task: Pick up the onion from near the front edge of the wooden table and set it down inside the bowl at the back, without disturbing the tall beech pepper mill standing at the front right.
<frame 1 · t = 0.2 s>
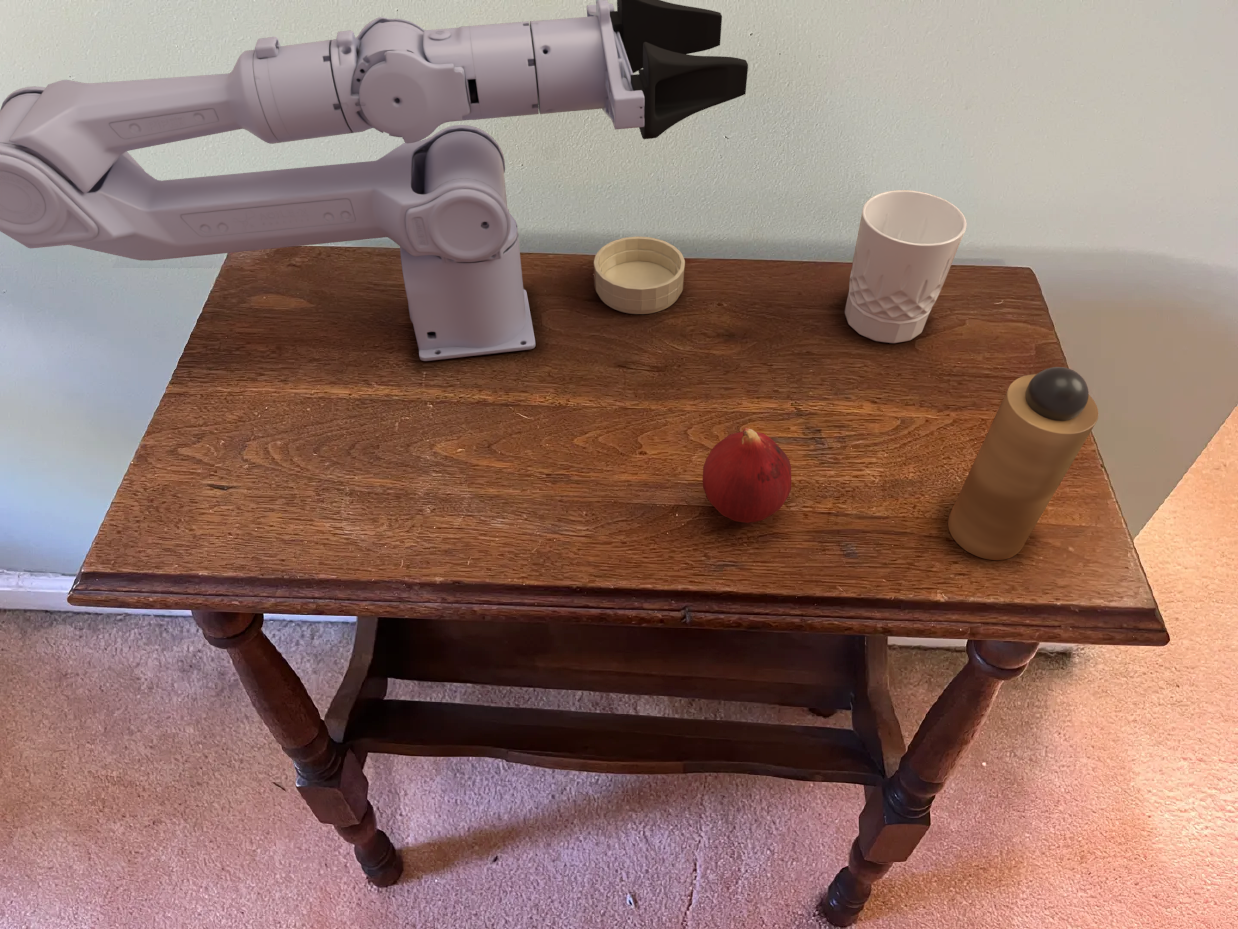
hand: (732, 51, 58), 22 cm above the table, tool horizontal, fingers open, 7 cm apart
onion: (740, 514, 59), on the table
bowl: (638, 288, 76), on the table
white cup: (883, 320, 73), on the table
pepper mill: (985, 530, 58), on the table
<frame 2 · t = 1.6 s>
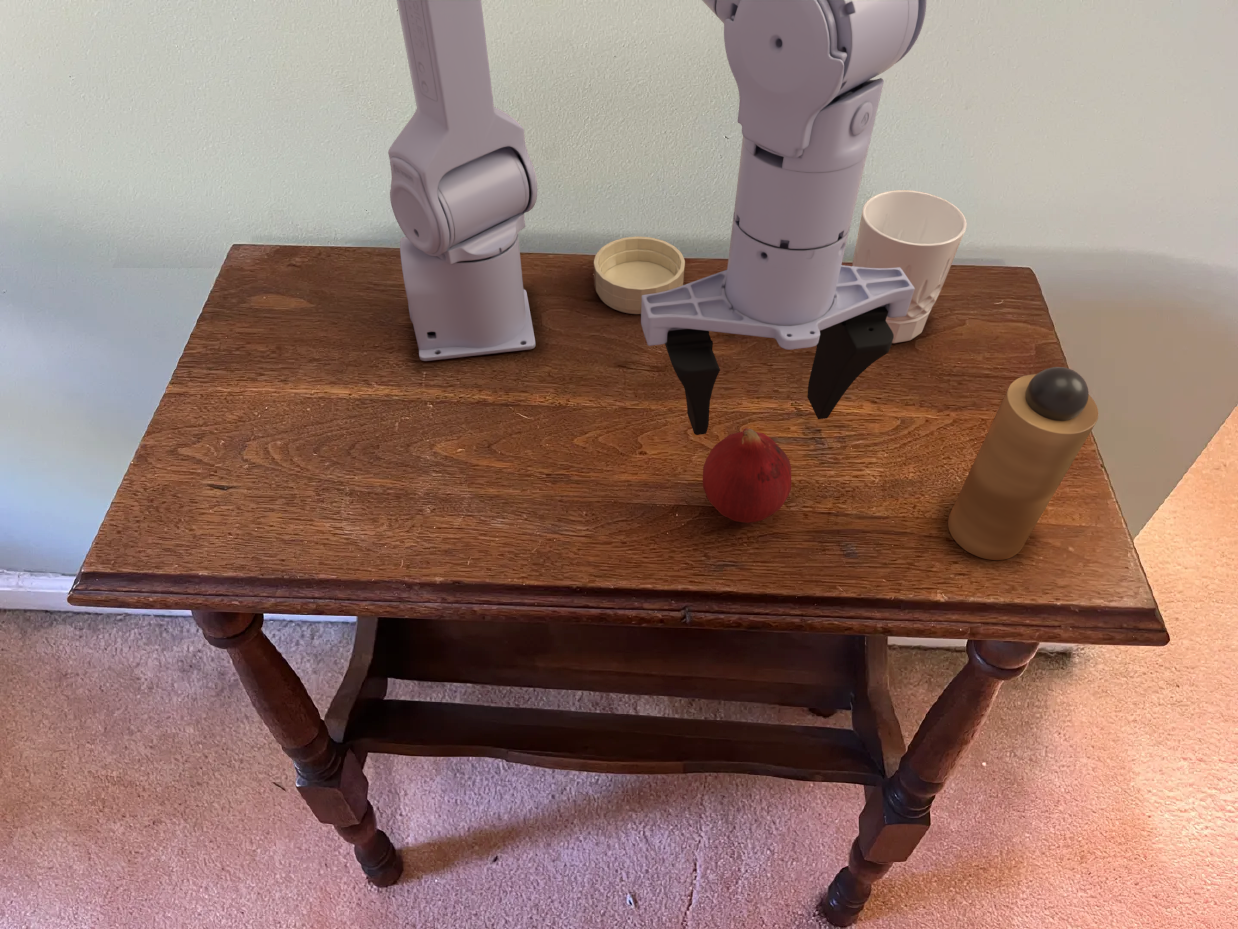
hand: (757, 415, 52), 9 cm above the table, tool pointing down, fingers open, 7 cm apart
nothing on the table moved.
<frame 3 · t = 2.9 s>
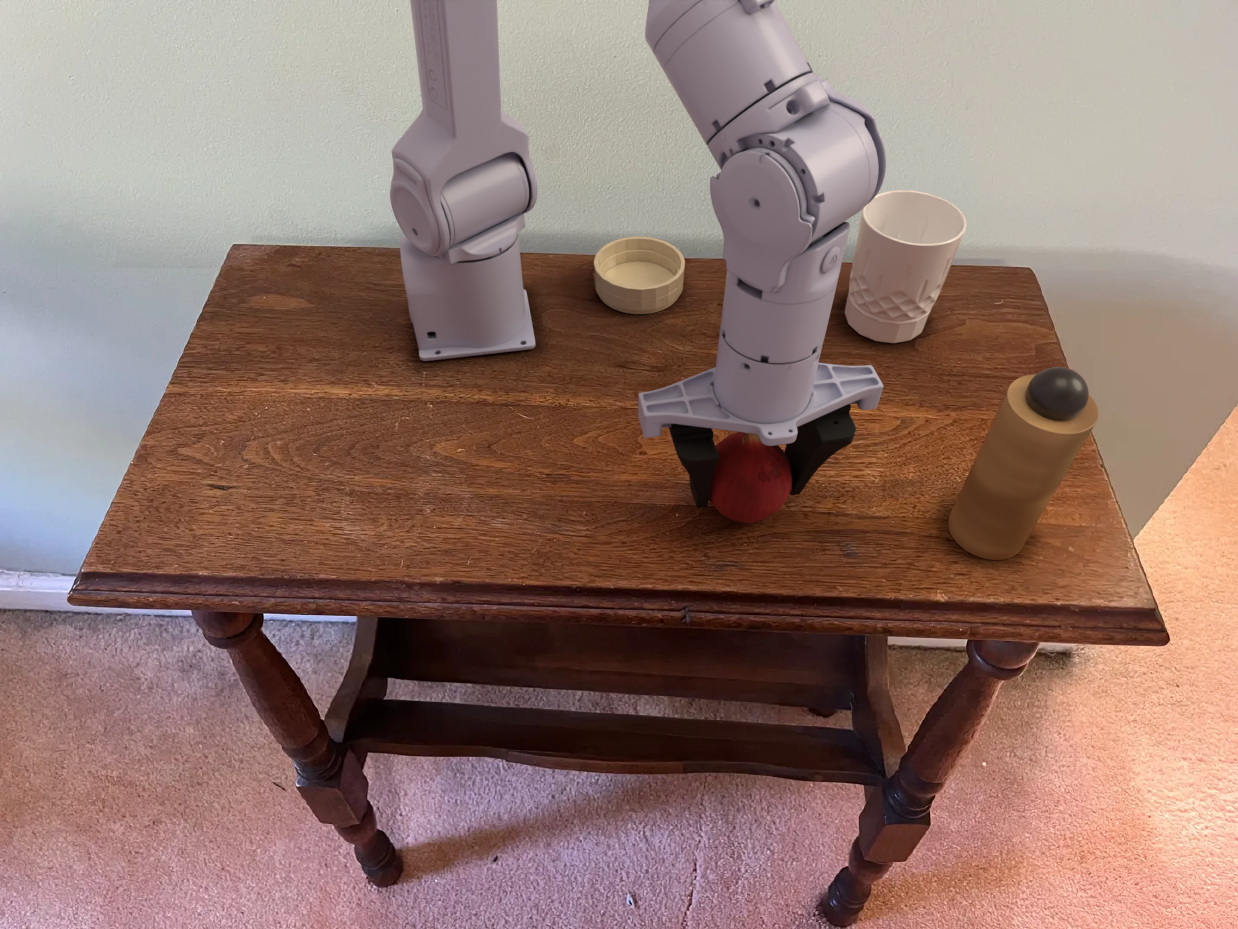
hand: (744, 490, 57), 2 cm above the table, tool pointing down, fingers closed on onion, 6 cm apart
onion: (740, 514, 59), on the table, touching gripper
everything else where it was.
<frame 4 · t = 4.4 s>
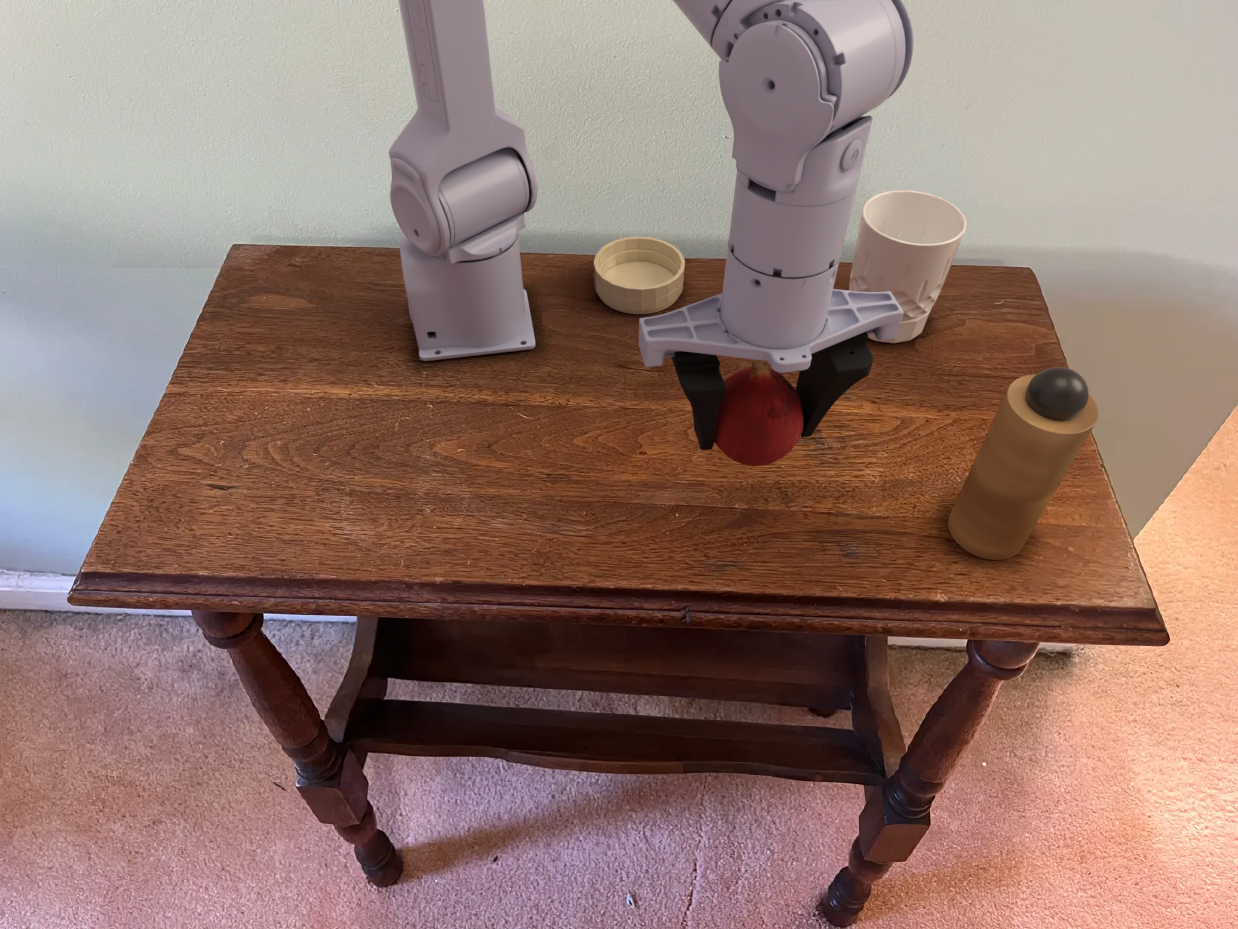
hand: (751, 432, 53), 8 cm above the table, tool pointing down, fingers closed on onion, 6 cm apart
onion: (747, 460, 55), point 5 cm above the table, touching gripper
everything else where it was.
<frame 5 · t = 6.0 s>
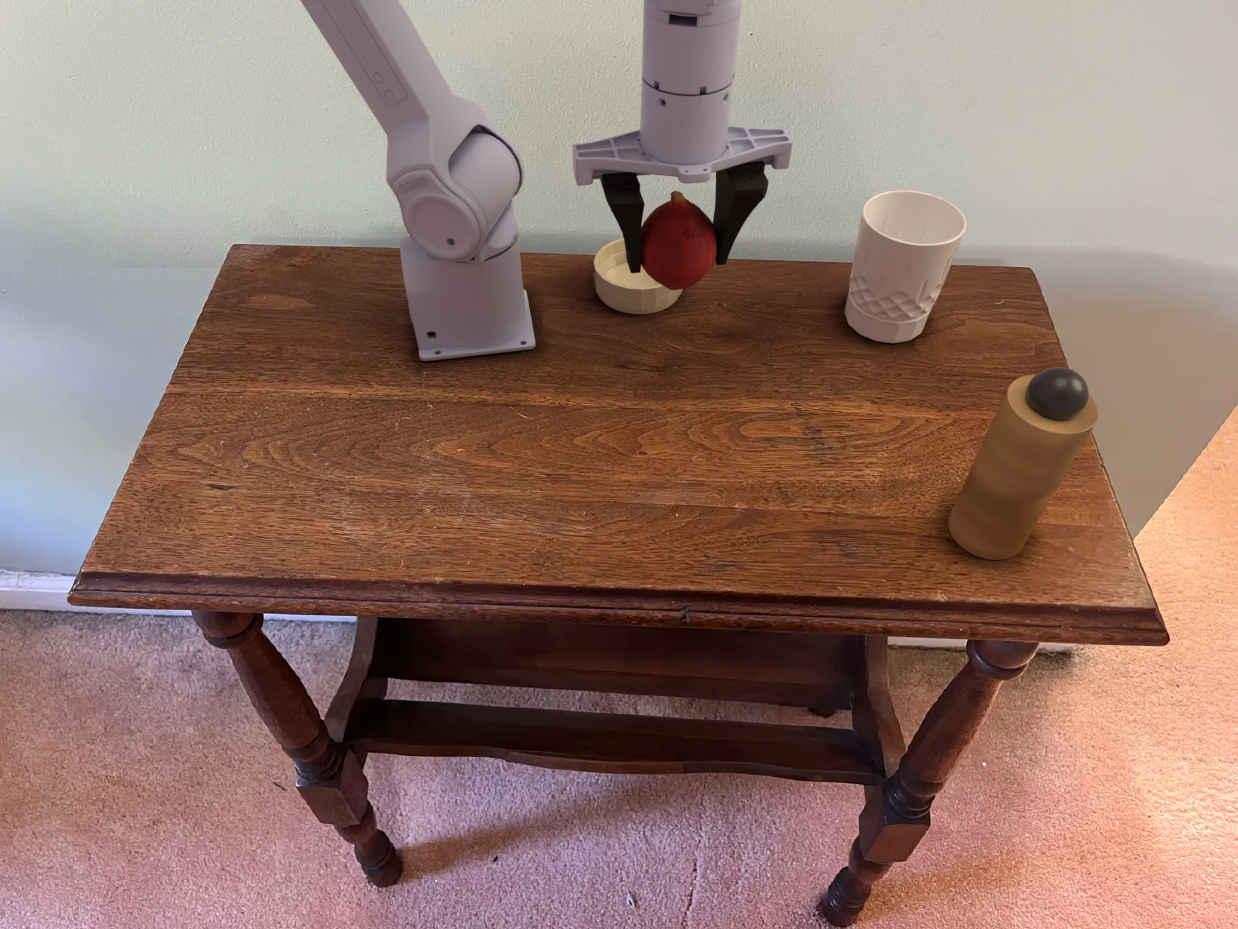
hand: (675, 261, 63), 9 cm above the table, tool pointing down, fingers closed on onion, 6 cm apart
onion: (674, 290, 65), point 7 cm above the table, touching gripper
everything else where it was.
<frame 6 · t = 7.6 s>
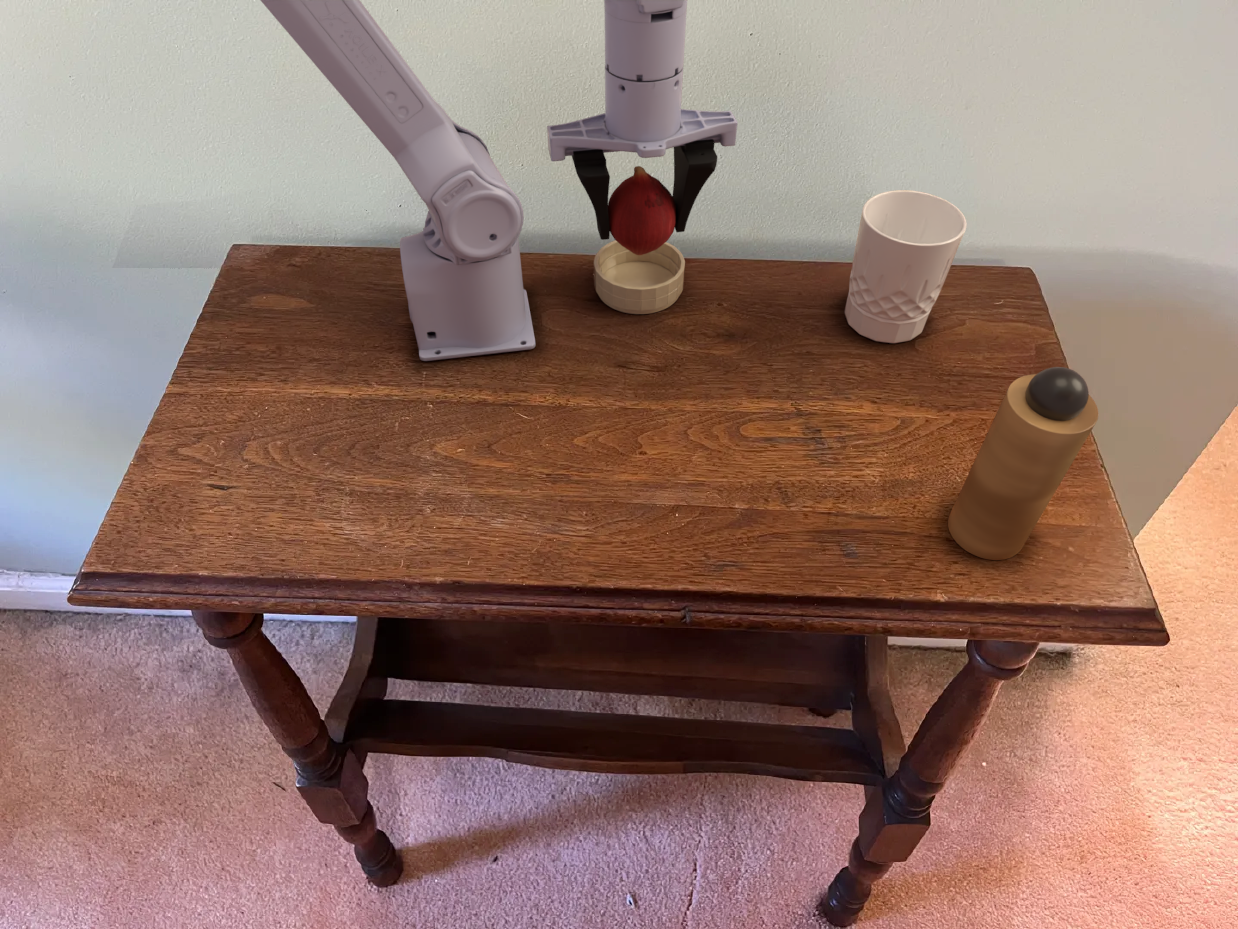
hand: (640, 229, 72), 6 cm above the table, tool pointing down, fingers closed on onion, 6 cm apart
onion: (640, 255, 74), point 3 cm above the table, touching gripper
everything else where it was.
when the fingers open (3 cm above the table, at t = 9.0 s): onion stays where it is, resting on bowl.
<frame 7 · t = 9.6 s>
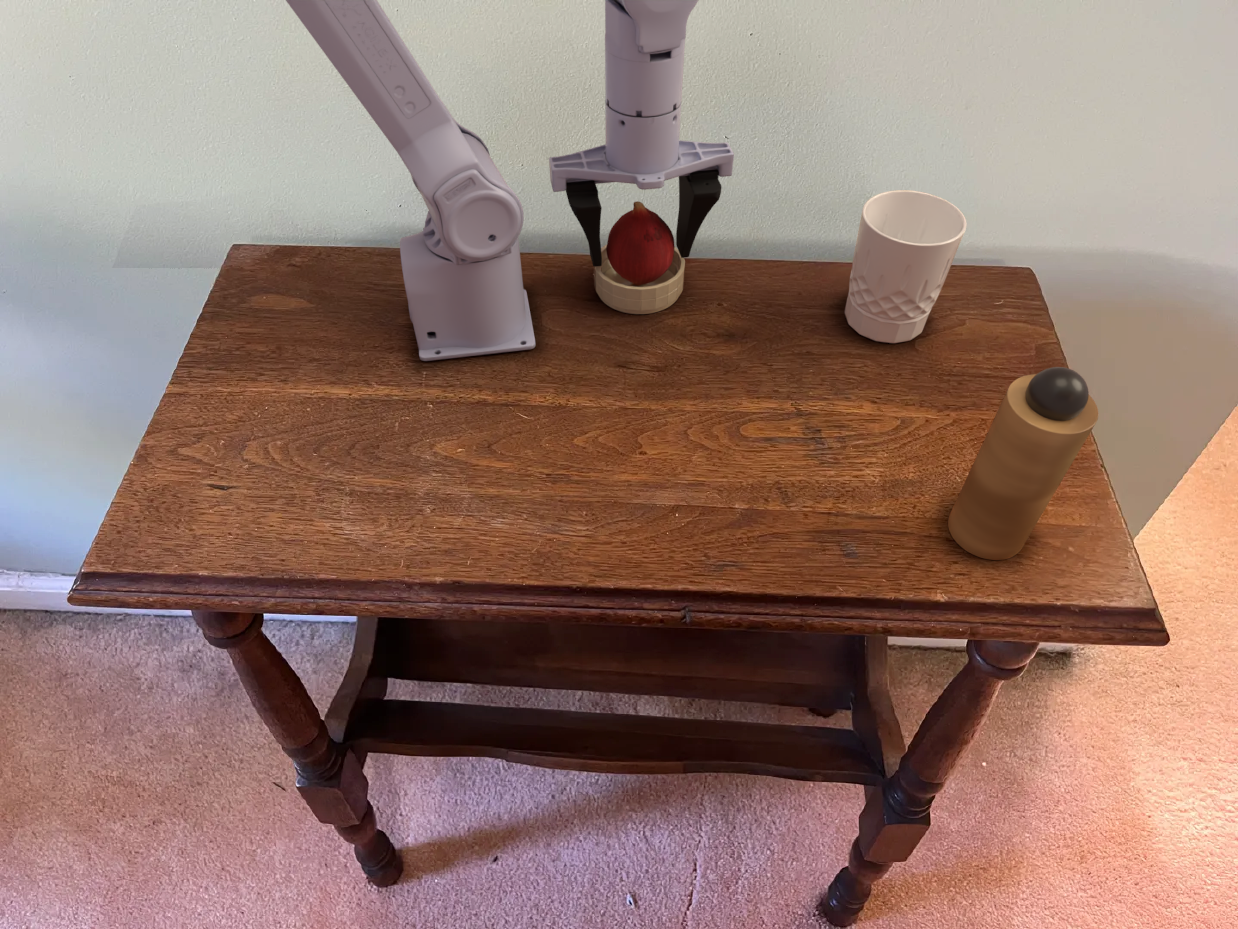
hand: (639, 255, 74), 3 cm above the table, tool pointing down, fingers open, 7 cm apart
onion: (639, 285, 76), resting on bowl
everything else where it was.
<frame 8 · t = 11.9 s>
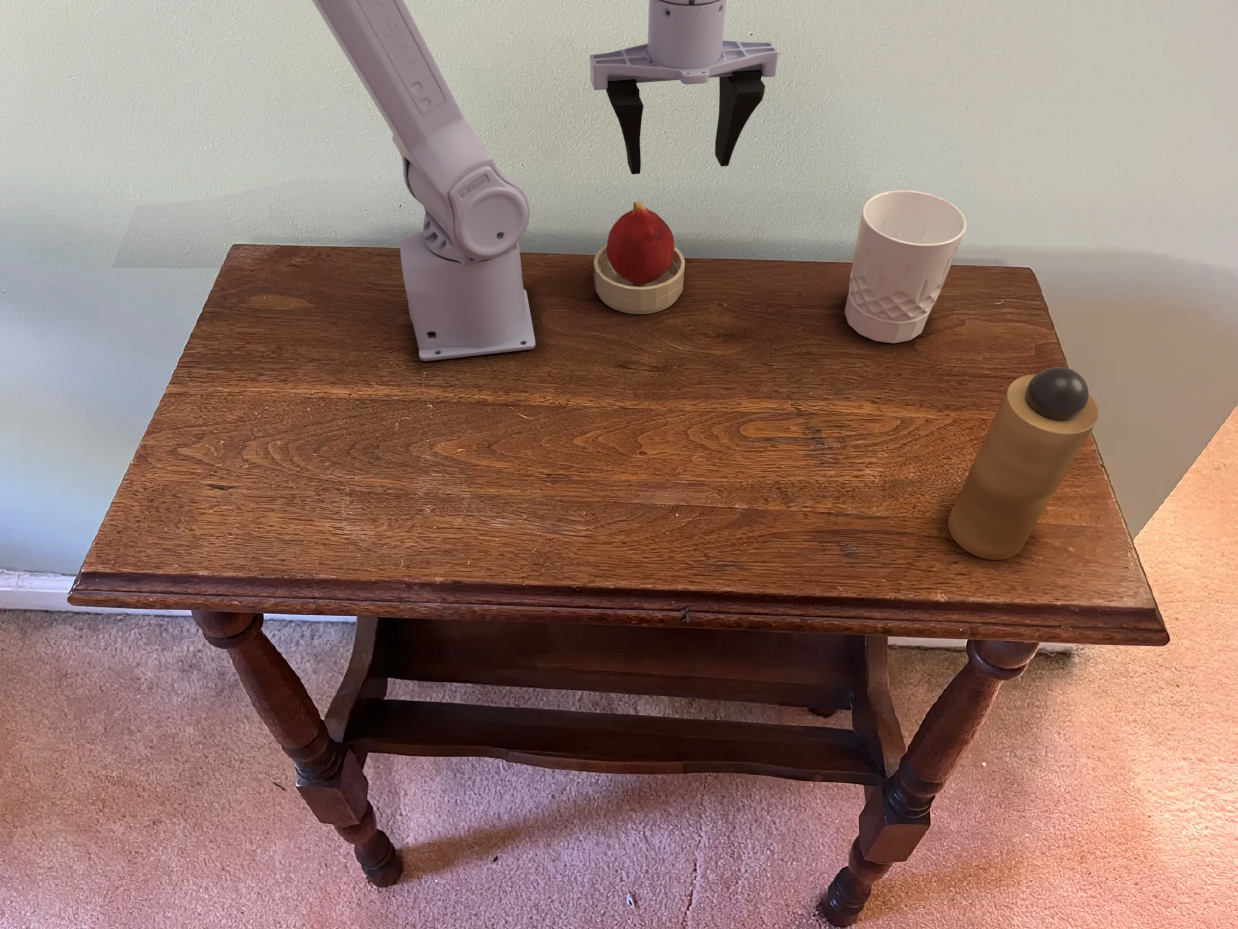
hand: (678, 164, 72), 9 cm above the table, tool pointing down, fingers open, 7 cm apart
nothing on the table moved.
at the end: onion 0.1 cm off-centre in the bowl, point 0.3 cm above the bowl's base; the gripper is holding nothing; pepper mill tilted 0° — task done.
